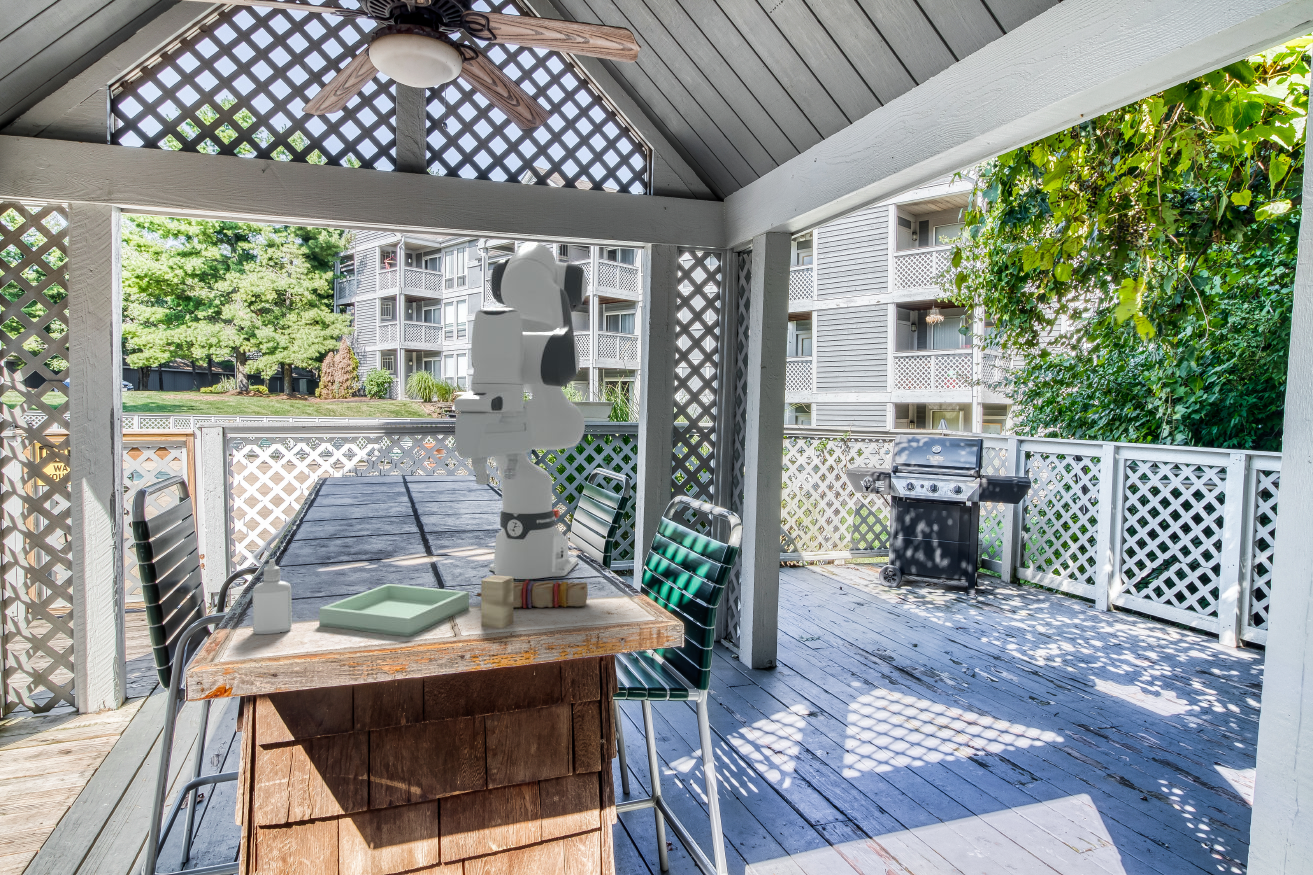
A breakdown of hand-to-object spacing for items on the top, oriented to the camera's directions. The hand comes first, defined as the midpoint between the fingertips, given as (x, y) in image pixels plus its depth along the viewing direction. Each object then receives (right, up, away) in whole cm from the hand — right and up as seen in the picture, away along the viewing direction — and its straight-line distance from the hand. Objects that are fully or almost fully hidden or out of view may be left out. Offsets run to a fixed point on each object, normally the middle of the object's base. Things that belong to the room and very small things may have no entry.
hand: (497, 481), depth 125 cm
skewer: (+4, -25, +13) cm, 28 cm away
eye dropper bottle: (-36, -25, -4) cm, 44 cm away
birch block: (0, -25, +1) cm, 25 cm away
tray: (-19, -24, +5) cm, 31 cm away
